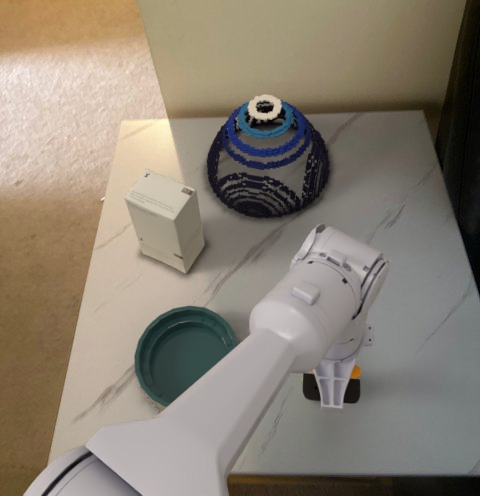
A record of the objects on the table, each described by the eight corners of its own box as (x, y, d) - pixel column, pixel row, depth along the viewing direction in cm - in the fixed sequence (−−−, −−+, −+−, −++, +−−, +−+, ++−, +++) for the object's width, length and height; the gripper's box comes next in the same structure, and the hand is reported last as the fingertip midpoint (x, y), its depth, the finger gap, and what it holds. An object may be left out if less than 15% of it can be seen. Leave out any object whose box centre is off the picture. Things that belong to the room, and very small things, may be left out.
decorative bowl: (317, 228, 86) (321, 171, 74) (193, 205, 90) (179, 148, 79) (338, 132, 97) (344, 69, 86) (227, 116, 101) (219, 54, 90)
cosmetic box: (142, 254, 85) (118, 198, 74) (163, 223, 88) (143, 165, 77) (189, 276, 83) (172, 221, 71) (209, 243, 86) (196, 186, 74)
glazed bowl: (231, 425, 70) (228, 416, 66) (129, 409, 72) (121, 400, 69) (247, 324, 77) (245, 312, 74) (155, 312, 79) (149, 300, 76)
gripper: (381, 398, 48) (367, 433, 59) (376, 248, 56) (364, 302, 67) (298, 391, 49) (299, 426, 60) (305, 244, 57) (304, 298, 68)
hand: (329, 360), depth 64 cm, fingers open, 7 cm apart
